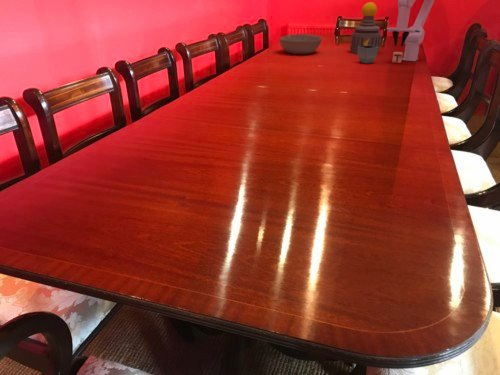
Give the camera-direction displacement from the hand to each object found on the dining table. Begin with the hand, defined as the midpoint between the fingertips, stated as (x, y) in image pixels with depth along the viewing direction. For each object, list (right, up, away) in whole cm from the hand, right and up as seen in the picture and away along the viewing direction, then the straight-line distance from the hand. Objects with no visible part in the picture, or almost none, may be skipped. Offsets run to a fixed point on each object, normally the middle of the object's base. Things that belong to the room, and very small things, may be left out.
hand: (398, 45), depth 222 cm
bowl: (-51, +9, +39) cm, 65 cm away
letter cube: (+2, -6, +9) cm, 11 cm away
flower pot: (-16, -7, +7) cm, 19 cm away
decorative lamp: (-9, +9, +37) cm, 39 cm away
